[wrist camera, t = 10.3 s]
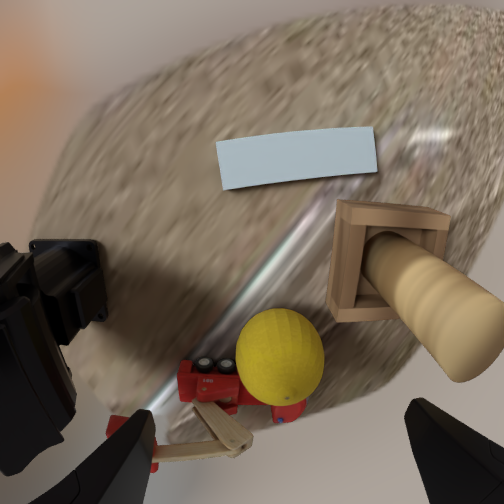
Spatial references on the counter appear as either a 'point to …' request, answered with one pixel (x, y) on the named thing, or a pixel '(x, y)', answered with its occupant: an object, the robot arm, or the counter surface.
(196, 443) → the toy fire truck
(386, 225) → the square wooden tray
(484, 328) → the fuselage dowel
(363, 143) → the plate
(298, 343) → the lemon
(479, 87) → the counter surface
